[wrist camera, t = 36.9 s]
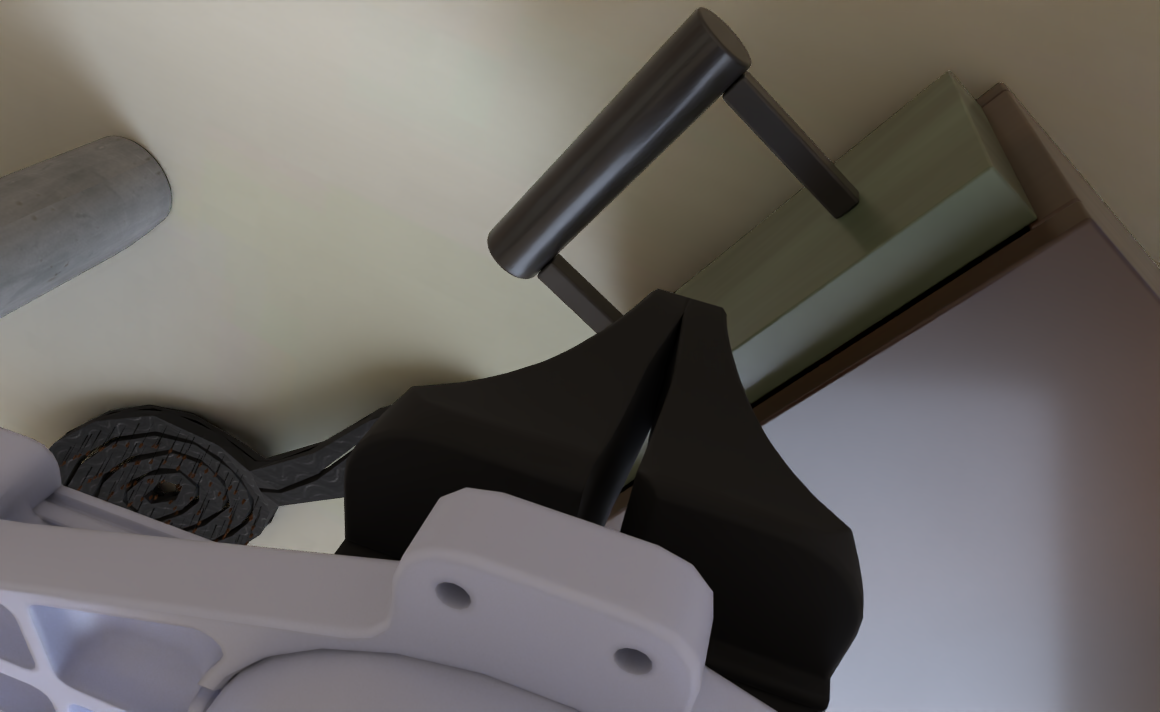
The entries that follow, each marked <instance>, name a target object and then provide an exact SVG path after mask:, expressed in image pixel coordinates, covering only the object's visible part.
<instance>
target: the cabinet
mask: <svg viewBox="0 0 1160 712" xmlns="http://www.w3.org/2000/svg"><path fill="white" fill-rule="evenodd" d="M976 101H977V103H978V104H979V105H980V106H981V108H982V109H983V111H984V113H985V115H986V117H987V119H988V121H989V123H990V125H991V127H992V129H993V131H994V133H995V135H996V137H997V139H998V141H999V143H1000V145H1001V147H1002V149H1003V151H1004V153H1005V155H1006V157H1007V158H1008V160H1009V162H1010V164H1011V166H1012V168H1013V170H1014V172H1015V174H1016V176H1017V178H1018V180H1019V182H1020V184H1021V186H1022V188H1023V190H1024V192H1025V194H1026V196H1027V198H1028V200H1029V202H1030V204H1031V206H1032V207H1033V209H1034V211H1035V213H1036V215H1037V219H1036V220H1035V221H1033V222H1032V223H1030V224H1029V225H1028V227H1029V229H1030V231H1029V232H1027V233H1026V234H1024V235H1023V236H1021V237H1020V238H1018V239H1016V240H1015V241H1013V242H1012V243H1010V244H1009V245H1007V246H1006V247H1004V248H1002V249H1001V250H999V251H998V252H996V253H995V254H993V255H992V256H990V257H988V258H987V259H985V260H984V261H982V262H981V263H979V264H977V265H976V266H974V267H973V268H971V269H970V270H968V271H967V272H965V273H963V274H962V275H960V276H959V277H957V278H956V279H954V280H953V281H951V282H949V283H948V284H946V285H945V286H943V287H942V288H940V289H938V290H937V291H935V292H934V293H932V294H931V295H929V296H928V297H926V298H924V299H923V300H921V301H920V302H918V303H917V304H915V305H914V306H912V307H910V308H909V309H907V310H906V311H904V312H903V313H901V314H900V315H898V316H896V317H895V318H893V319H892V320H890V321H889V322H887V323H885V324H884V325H882V326H881V327H879V328H878V329H876V330H875V331H873V332H871V333H870V334H868V335H867V336H865V337H864V338H862V339H861V340H859V341H857V342H856V343H854V344H853V345H851V346H850V347H848V348H846V349H845V350H843V351H842V352H840V353H839V354H837V355H836V356H834V357H832V358H831V359H829V360H828V361H826V362H825V363H823V364H822V365H820V366H818V367H817V368H815V369H814V370H812V371H811V372H809V373H807V374H806V375H804V376H803V377H801V378H800V379H798V380H797V381H795V382H793V383H792V384H790V385H789V386H787V387H786V388H784V389H783V390H781V391H779V392H778V393H776V394H775V395H773V396H772V397H770V398H769V399H767V400H765V401H764V402H762V403H761V404H759V405H758V406H756V407H754V408H753V411H754V413H755V415H756V417H757V419H758V421H759V423H760V425H761V427H762V429H763V430H764V432H765V434H766V436H767V437H768V439H769V440H770V442H771V443H772V445H773V446H774V448H775V449H776V450H777V452H778V453H779V455H780V456H781V457H782V459H783V460H784V461H785V463H786V464H787V465H788V467H789V468H790V469H791V470H792V471H793V473H794V474H795V475H796V476H797V477H798V478H799V480H800V481H801V482H802V483H803V484H804V485H805V486H806V487H807V488H808V489H809V490H810V492H811V493H812V494H813V495H814V496H815V497H816V498H817V499H818V500H819V501H820V502H822V503H823V504H824V505H825V506H826V507H827V508H828V509H829V510H830V511H832V512H833V513H834V514H835V515H836V516H837V517H838V518H839V519H840V520H842V521H843V522H844V523H845V524H846V525H847V526H848V527H849V528H851V530H852V532H853V536H854V540H855V545H856V549H857V554H858V558H859V564H860V570H861V575H862V583H863V592H864V608H863V620H862V623H861V626H860V628H859V631H858V634H857V636H856V638H855V639H854V641H853V642H852V644H851V646H850V647H849V649H848V651H847V652H846V654H845V655H844V657H843V659H842V660H841V662H840V664H839V665H838V667H837V668H836V670H835V672H834V673H833V675H832V677H831V678H830V701H829V705H828V708H827V709H826V711H825V712H1160V268H1159V267H1158V266H1157V265H1156V263H1155V262H1154V261H1153V260H1152V259H1151V258H1150V256H1149V255H1148V254H1147V253H1146V252H1145V250H1144V249H1143V248H1142V247H1141V246H1140V244H1139V243H1138V242H1137V241H1136V240H1135V238H1134V237H1133V236H1132V235H1131V234H1130V233H1129V231H1128V230H1127V229H1126V228H1125V227H1124V225H1123V224H1122V223H1121V222H1120V221H1119V219H1118V218H1117V217H1116V216H1115V215H1114V213H1113V212H1112V211H1111V210H1110V209H1109V208H1108V206H1107V205H1106V204H1105V203H1104V202H1103V200H1102V199H1101V198H1100V197H1099V196H1098V194H1097V193H1096V192H1095V191H1094V190H1093V188H1092V187H1091V186H1090V185H1089V184H1088V183H1087V181H1086V180H1085V179H1084V178H1083V177H1082V175H1081V174H1080V173H1079V172H1078V171H1077V169H1076V168H1075V167H1074V166H1073V165H1072V163H1071V162H1070V161H1069V160H1068V159H1067V158H1066V156H1065V155H1064V154H1063V153H1062V152H1061V150H1060V149H1059V148H1058V147H1057V146H1056V144H1055V143H1054V142H1053V141H1052V140H1051V138H1050V137H1049V136H1048V135H1047V134H1046V133H1045V131H1044V130H1043V129H1042V128H1041V127H1040V125H1039V124H1038V123H1037V122H1036V121H1035V119H1034V118H1033V117H1032V116H1031V115H1030V113H1029V112H1028V111H1027V110H1026V109H1025V108H1024V106H1023V105H1022V104H1021V103H1020V102H1019V100H1018V99H1017V98H1016V97H1015V96H1014V94H1013V93H1012V92H1011V91H1010V90H1009V88H1008V87H1007V86H1006V85H1005V84H1004V83H1002V82H1001V83H998V84H997V85H995V86H994V87H993V88H991V89H990V90H989V91H987V92H986V93H985V94H984V95H982V96H981V97H980V98H978V99H977V100H976ZM634 480H635V479H634ZM634 480H633V481H631V482H630V483H628V484H627V485H625V486H624V487H622V489H621V492H620V494H619V496H618V498H617V500H616V502H615V504H614V506H613V508H612V510H611V512H610V515H609V517H608V519H607V522H606V524H605V527H606V528H609V529H612V530H615V531H618V532H620V529H621V526H622V522H623V519H624V515H625V512H626V508H627V504H628V501H629V497H630V494H631V490H632V487H633V483H634Z"/></svg>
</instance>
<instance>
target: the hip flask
mask: <svg viewBox="0 0 1160 712" xmlns="http://www.w3.org/2000/svg"><path fill="white" fill-rule="evenodd" d="M171 203H172V198H171V191H170V186H169V183H168V181H167V178H166V176H165V174H164V172H163V171H162V169H161V167H160V166H159V165H158V163H157V162H156V161H155V159H154V158H153V157H152V156H151V155H150V154H149V153H148V152H147V151H146V150H144V149H143V148H142V147H141V146H139V145H138V144H136V143H134V142H133V141H131V140H128V139H126V138H123V137H118V136H108V137H105V138H102V139H99V140H97V141H94V142H92V143H89V144H86V145H84V146H81V147H79V148H76V149H73V150H71V151H68V152H66V153H63V154H61V155H58V156H55V157H53V158H50V159H48V160H45V161H42V162H40V163H37V164H35V165H32V166H30V167H27V168H24V169H22V170H19V171H17V172H14V173H11V174H9V175H6V176H4V177H1V178H0V318H2V317H4V316H5V315H7V314H9V313H11V312H13V311H14V310H16V309H18V308H20V307H22V306H23V305H25V304H27V303H29V302H31V301H32V300H34V299H36V298H38V297H40V296H42V295H43V294H45V293H47V292H49V291H51V290H52V289H54V288H56V287H58V286H60V285H61V284H63V283H65V282H67V281H69V280H70V279H72V278H74V277H76V276H78V275H80V274H81V273H83V272H85V271H87V270H89V269H90V268H92V267H94V266H96V265H98V264H99V263H101V262H103V261H105V260H107V259H108V258H110V257H112V256H114V255H116V254H117V253H119V252H121V251H122V250H124V249H125V248H127V247H129V246H130V245H132V244H133V243H135V242H136V241H137V240H139V239H140V238H141V237H143V236H144V235H145V234H147V233H148V232H149V231H151V230H152V229H153V228H154V227H156V226H157V225H158V224H159V223H160V222H162V221H163V220H164V219H165V218H166V217H167V215H168V214H169V211H170V209H171Z"/></svg>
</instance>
